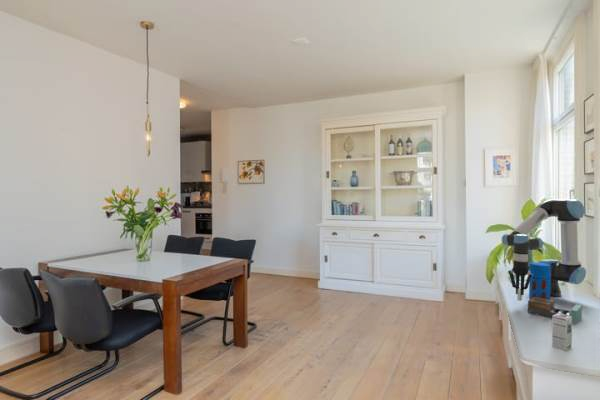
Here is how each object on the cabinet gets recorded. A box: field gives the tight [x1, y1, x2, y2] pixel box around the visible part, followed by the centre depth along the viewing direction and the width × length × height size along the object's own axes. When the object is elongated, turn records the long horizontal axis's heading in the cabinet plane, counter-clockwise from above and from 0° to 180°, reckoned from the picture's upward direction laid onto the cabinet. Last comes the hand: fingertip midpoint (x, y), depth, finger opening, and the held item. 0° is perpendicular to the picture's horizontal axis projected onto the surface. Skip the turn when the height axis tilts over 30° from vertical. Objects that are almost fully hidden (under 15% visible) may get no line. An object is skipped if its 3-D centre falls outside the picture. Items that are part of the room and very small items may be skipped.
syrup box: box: [551, 313, 573, 352], centre depth 164 cm, size 6×6×14 cm
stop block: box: [570, 304, 583, 325], centre depth 198 cm, size 13×3×7 cm, turn 133°
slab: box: [527, 297, 555, 312], centre depth 210 cm, size 12×10×4 cm
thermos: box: [528, 261, 551, 300], centre depth 225 cm, size 11×11×25 cm
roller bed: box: [527, 307, 571, 319], centre depth 206 cm, size 11×20×3 cm, turn 43°
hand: (519, 300), depth 218 cm, fingers closed
